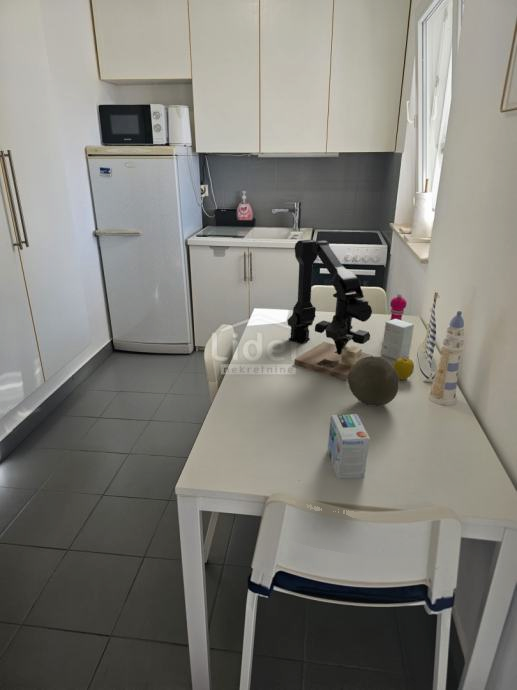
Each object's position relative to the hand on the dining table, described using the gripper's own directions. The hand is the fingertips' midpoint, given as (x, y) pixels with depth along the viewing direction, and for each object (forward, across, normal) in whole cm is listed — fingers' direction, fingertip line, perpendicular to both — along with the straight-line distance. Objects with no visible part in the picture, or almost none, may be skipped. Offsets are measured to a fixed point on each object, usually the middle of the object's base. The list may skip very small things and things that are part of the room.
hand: (339, 354), depth 159 cm
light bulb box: (+4, +28, -50) cm, 57 cm away
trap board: (+4, -2, 0) cm, 4 cm away
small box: (+4, +13, +20) cm, 24 cm away
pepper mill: (+4, +7, +33) cm, 34 cm away
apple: (+4, +22, +3) cm, 23 cm away
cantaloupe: (+4, +21, -20) cm, 29 cm away
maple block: (+2, +4, 0) cm, 5 cm away
